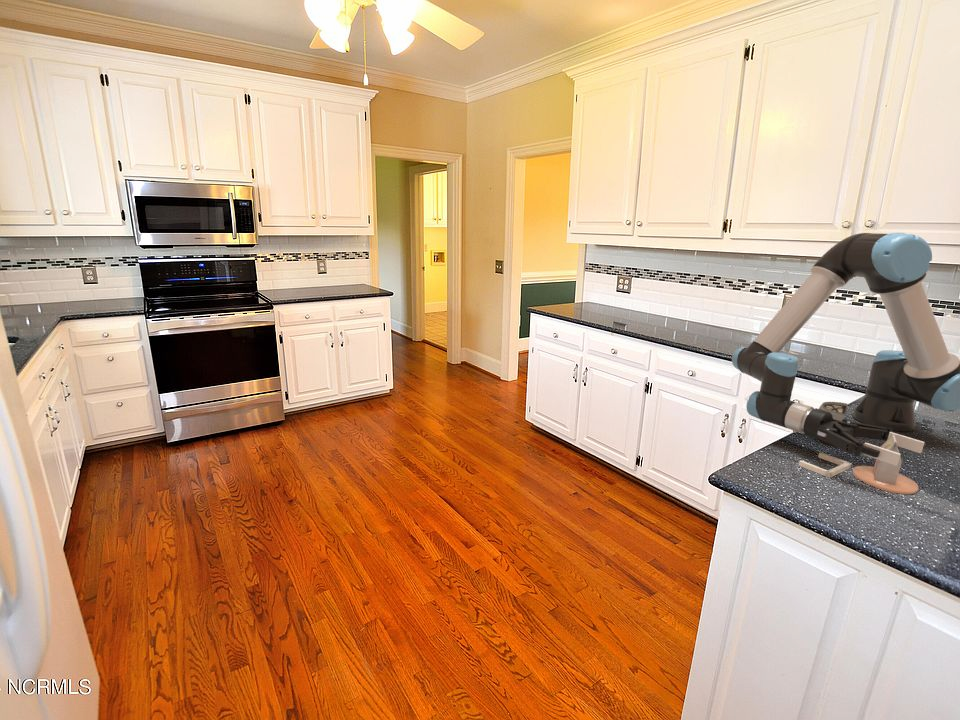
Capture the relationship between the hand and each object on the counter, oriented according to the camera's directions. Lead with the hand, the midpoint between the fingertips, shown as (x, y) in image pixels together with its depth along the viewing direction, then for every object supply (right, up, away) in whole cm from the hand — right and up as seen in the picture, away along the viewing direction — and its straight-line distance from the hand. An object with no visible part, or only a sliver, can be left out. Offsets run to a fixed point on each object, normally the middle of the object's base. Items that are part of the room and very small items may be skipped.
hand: (911, 453), depth 109 cm
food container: (+1, -2, +28) cm, 28 cm away
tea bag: (-2, -7, +5) cm, 9 cm away
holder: (-12, -5, +11) cm, 17 cm away
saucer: (-2, -7, +5) cm, 9 cm away
